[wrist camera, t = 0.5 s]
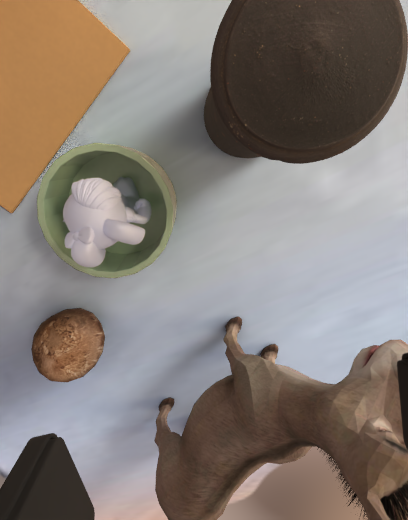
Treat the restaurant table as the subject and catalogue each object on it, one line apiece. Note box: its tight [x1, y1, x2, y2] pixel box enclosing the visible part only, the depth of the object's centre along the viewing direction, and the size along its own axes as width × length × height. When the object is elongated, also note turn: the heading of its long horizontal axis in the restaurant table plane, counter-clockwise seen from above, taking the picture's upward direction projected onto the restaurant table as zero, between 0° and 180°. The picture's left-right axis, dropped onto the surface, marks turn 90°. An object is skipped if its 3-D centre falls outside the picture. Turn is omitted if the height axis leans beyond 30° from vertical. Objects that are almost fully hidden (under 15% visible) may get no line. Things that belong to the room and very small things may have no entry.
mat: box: [0, 0, 130, 213], centre depth 32 cm, size 20×12×1 cm, turn 139°
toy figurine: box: [63, 177, 152, 267], centre depth 29 cm, size 7×6×12 cm
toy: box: [155, 317, 408, 520], centre depth 27 cm, size 8×34×30 cm, turn 140°
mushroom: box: [32, 308, 105, 382], centre depth 37 cm, size 8×8×6 cm
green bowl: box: [37, 143, 177, 278], centre depth 32 cm, size 12×12×6 cm
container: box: [204, 0, 408, 164], centre depth 24 cm, size 9×9×20 cm
